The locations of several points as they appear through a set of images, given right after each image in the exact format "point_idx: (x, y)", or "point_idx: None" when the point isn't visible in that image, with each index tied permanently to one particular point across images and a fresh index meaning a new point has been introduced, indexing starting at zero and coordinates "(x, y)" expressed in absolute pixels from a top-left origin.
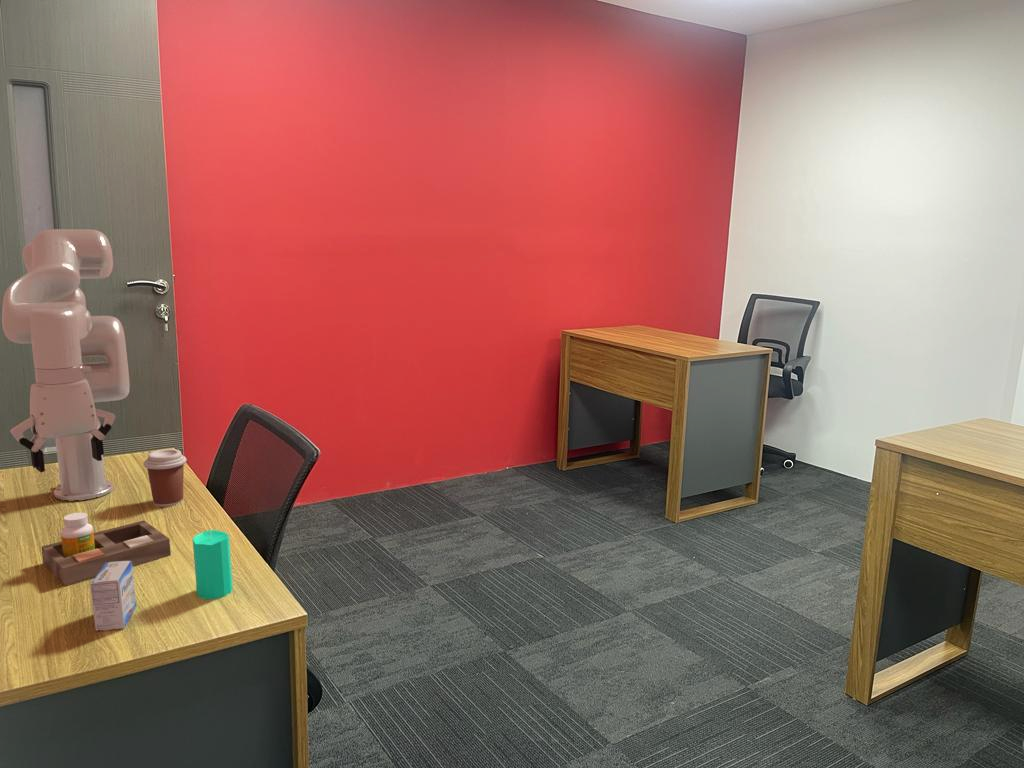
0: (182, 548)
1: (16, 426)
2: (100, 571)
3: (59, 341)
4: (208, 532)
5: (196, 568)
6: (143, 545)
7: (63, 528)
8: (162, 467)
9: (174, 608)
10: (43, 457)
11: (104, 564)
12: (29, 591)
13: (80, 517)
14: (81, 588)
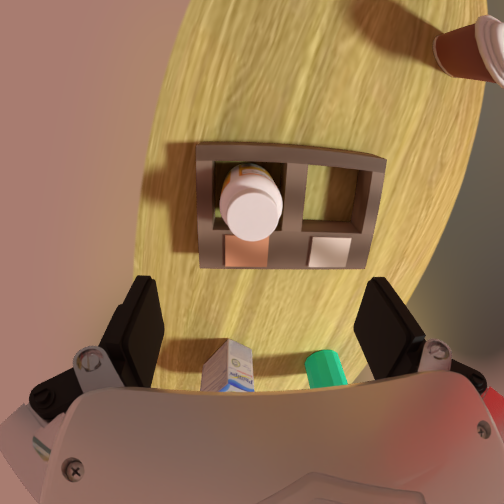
0: (376, 243)
1: (14, 467)
2: None
3: None
4: None
5: (311, 386)
6: (327, 268)
7: (227, 197)
8: (493, 74)
9: (276, 367)
10: (153, 374)
11: (225, 385)
12: (160, 236)
13: (258, 233)
14: (219, 273)
